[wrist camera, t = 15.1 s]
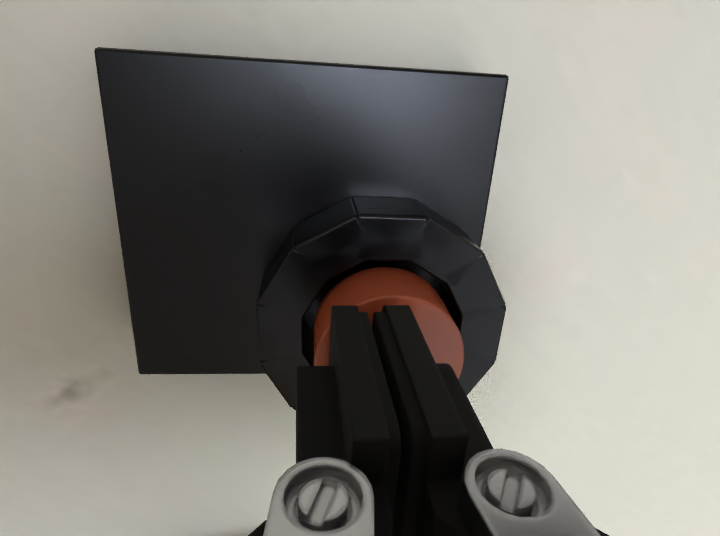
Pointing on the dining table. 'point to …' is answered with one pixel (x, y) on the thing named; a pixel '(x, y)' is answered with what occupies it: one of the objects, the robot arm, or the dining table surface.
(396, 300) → the button
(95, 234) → the dining table surface
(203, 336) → the button block
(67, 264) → the dining table surface
